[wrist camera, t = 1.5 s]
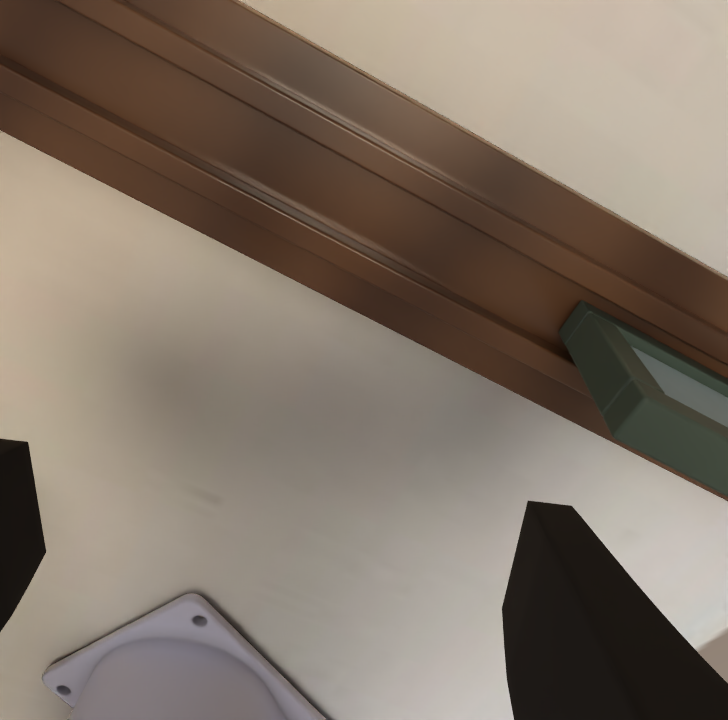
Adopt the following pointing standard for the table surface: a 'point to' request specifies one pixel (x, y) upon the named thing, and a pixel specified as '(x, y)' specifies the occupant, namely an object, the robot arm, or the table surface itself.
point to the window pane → (652, 395)
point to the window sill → (347, 188)
